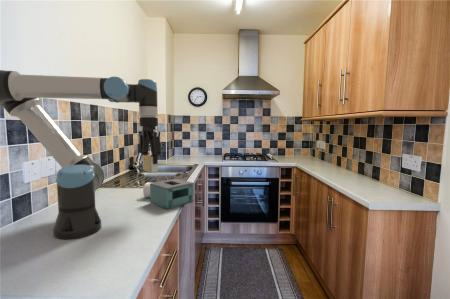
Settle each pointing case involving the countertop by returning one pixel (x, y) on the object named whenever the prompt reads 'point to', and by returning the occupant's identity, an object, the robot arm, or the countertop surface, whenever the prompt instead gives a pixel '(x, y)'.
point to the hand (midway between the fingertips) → (150, 170)
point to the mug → (146, 189)
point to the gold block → (147, 163)
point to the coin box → (171, 193)
